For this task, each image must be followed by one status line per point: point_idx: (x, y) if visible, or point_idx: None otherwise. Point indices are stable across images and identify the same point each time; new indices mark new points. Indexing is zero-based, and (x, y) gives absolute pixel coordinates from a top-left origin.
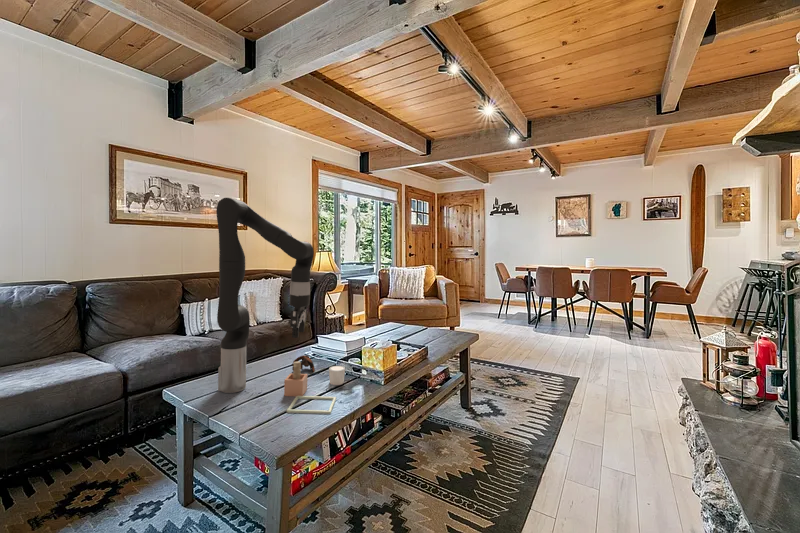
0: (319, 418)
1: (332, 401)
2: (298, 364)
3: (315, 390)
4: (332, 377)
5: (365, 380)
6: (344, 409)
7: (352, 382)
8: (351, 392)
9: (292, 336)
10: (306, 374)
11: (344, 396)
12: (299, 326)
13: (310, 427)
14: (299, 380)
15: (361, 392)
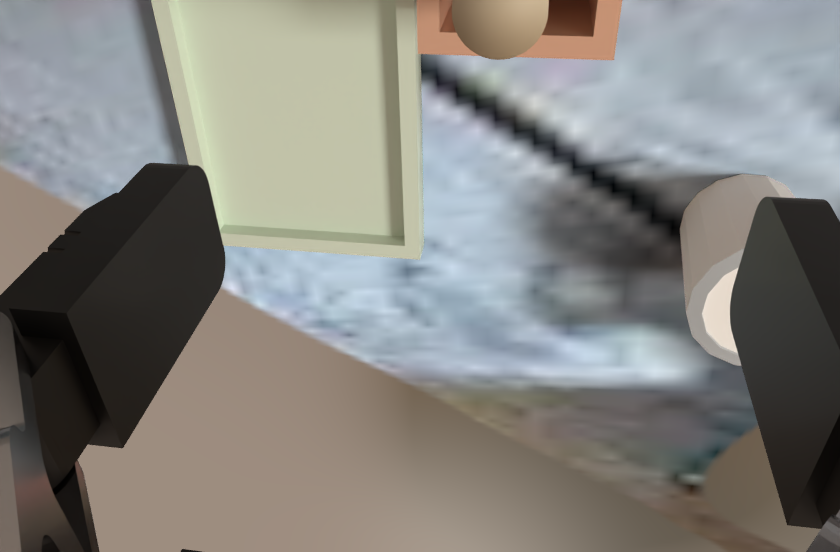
0: None
1: (344, 243)
2: (463, 34)
3: (615, 75)
4: (699, 239)
5: None
6: (312, 293)
7: None
8: (564, 322)
9: (149, 173)
10: (597, 51)
11: (497, 286)
12: (801, 315)
13: (62, 144)
14: (417, 16)
15: (563, 373)
